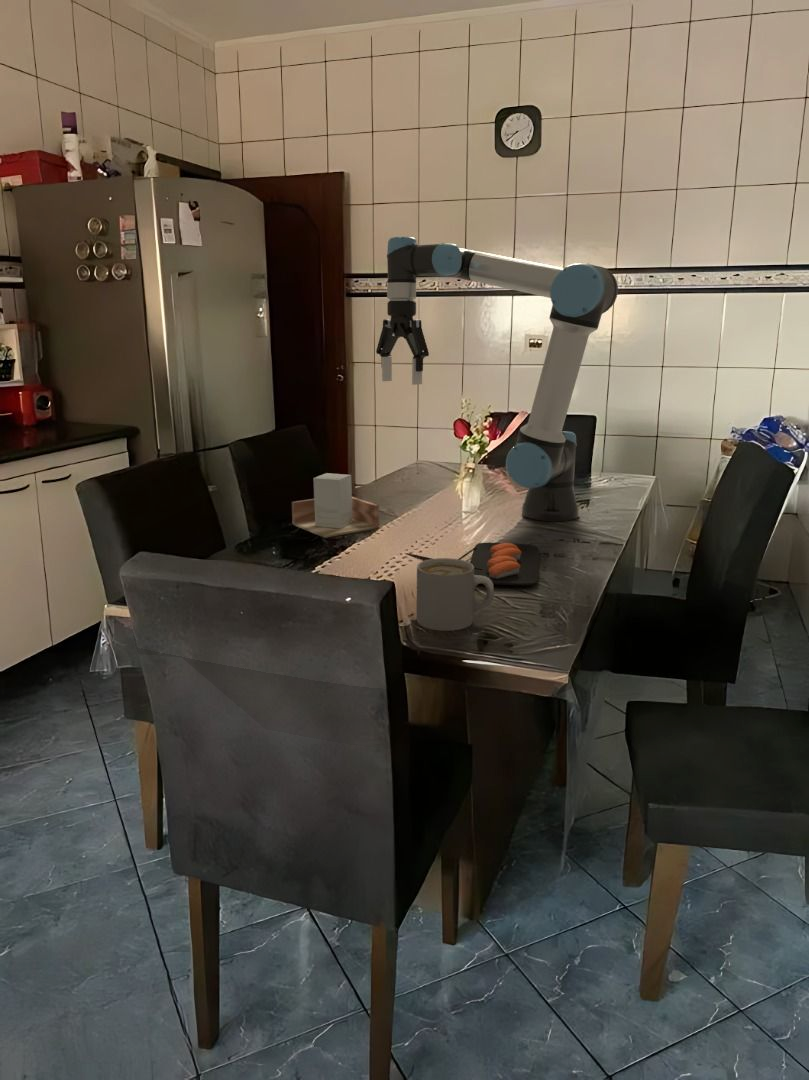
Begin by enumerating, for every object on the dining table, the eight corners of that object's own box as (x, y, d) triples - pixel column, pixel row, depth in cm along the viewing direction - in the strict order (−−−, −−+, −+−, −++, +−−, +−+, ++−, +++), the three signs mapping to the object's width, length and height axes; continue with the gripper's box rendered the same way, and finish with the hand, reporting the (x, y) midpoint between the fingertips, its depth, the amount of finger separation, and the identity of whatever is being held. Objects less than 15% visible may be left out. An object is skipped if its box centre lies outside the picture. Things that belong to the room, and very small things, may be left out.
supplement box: (353, 522, 206) (352, 474, 203) (339, 529, 200) (338, 479, 196) (328, 520, 209) (326, 472, 206) (313, 526, 203) (312, 477, 199)
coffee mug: (411, 628, 138) (411, 572, 136) (422, 608, 148) (423, 556, 145) (488, 634, 135) (490, 578, 133) (495, 614, 145) (497, 561, 142)
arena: (378, 528, 204) (378, 505, 202) (324, 537, 195) (324, 513, 193) (344, 515, 216) (344, 494, 214) (292, 524, 207) (291, 501, 205)
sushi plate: (537, 593, 157) (538, 575, 156) (387, 585, 162) (387, 567, 161) (538, 552, 185) (539, 536, 184) (410, 546, 190) (410, 530, 189)
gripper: (443, 299, 202) (441, 385, 208) (385, 301, 222) (386, 379, 227) (419, 299, 198) (419, 386, 204) (363, 300, 217) (364, 380, 223)
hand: (401, 382), depth 215 cm, fingers open, 13 cm apart
